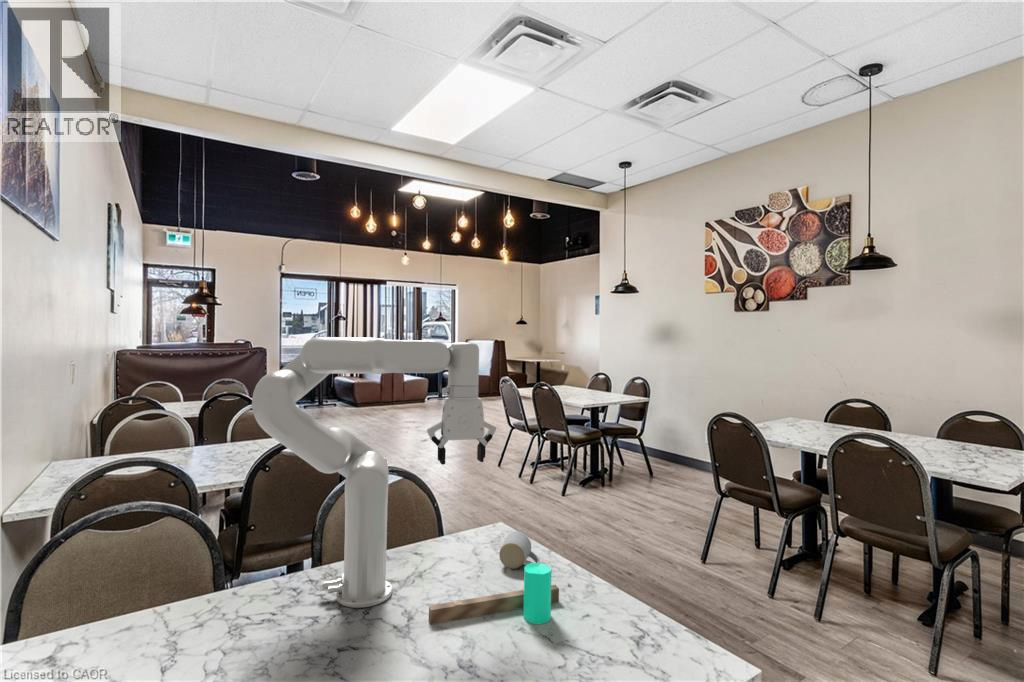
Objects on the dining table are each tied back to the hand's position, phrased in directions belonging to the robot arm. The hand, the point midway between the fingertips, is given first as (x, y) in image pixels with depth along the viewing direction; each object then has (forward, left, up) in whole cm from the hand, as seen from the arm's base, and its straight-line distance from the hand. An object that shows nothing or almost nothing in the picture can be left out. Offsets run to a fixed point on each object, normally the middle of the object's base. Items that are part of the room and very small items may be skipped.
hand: (461, 462), depth 122 cm
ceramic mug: (+19, +7, -31) cm, 37 cm away
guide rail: (+5, -13, -30) cm, 34 cm away
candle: (+12, -19, -31) cm, 38 cm away
